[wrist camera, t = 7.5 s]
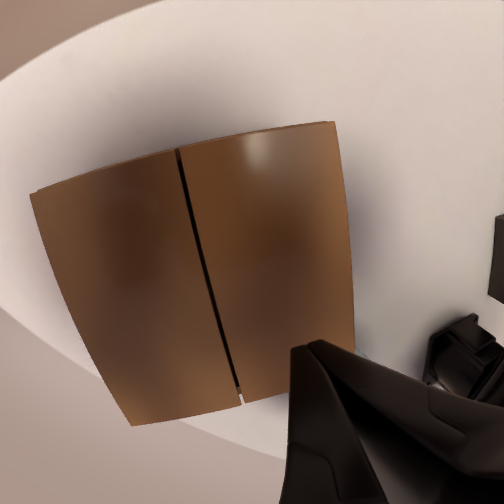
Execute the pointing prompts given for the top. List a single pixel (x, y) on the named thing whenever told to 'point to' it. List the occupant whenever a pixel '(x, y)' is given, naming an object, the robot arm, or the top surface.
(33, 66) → the top surface
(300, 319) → the flap
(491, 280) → the panel
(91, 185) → the wooden box
